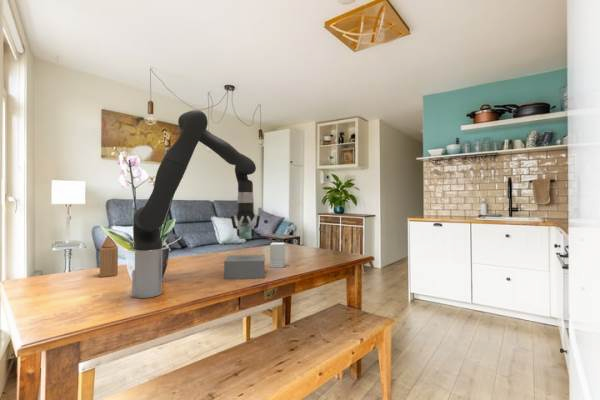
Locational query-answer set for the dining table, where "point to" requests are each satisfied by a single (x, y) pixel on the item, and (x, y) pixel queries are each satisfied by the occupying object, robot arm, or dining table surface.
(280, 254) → the supplement box
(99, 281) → the dining table surface
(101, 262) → the decorative item
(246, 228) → the teal block
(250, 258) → the charcoal stand
